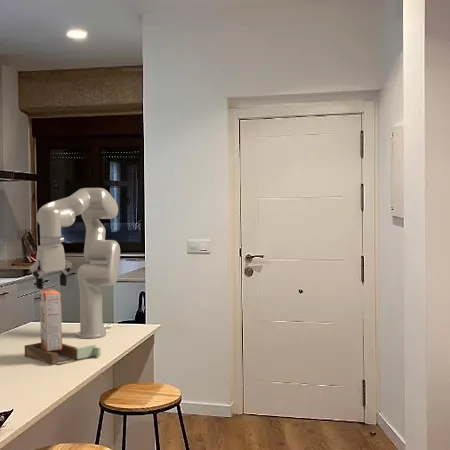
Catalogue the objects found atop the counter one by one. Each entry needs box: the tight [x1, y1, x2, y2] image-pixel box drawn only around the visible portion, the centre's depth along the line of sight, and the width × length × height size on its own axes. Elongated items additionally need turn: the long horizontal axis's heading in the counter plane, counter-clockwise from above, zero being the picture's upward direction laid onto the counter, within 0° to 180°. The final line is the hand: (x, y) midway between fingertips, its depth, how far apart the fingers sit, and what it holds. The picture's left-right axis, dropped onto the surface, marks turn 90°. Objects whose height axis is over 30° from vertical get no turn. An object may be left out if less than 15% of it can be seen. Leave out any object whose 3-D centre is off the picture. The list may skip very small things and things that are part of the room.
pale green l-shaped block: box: [76, 344, 101, 359], centre depth 211 cm, size 8×4×4 cm, turn 138°
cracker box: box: [39, 288, 63, 351], centre depth 213 cm, size 14×6×21 cm, turn 26°
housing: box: [24, 342, 98, 366], centre depth 215 cm, size 18×21×4 cm
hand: (51, 287), depth 214 cm, fingers open, 9 cm apart
